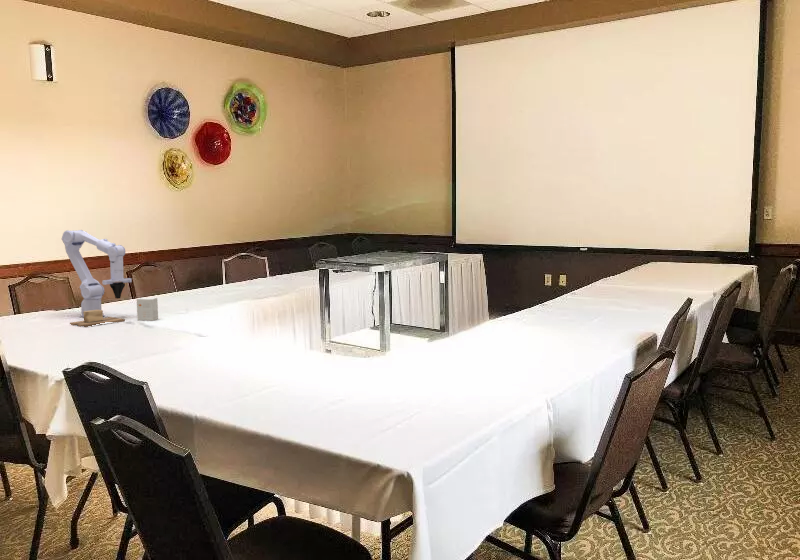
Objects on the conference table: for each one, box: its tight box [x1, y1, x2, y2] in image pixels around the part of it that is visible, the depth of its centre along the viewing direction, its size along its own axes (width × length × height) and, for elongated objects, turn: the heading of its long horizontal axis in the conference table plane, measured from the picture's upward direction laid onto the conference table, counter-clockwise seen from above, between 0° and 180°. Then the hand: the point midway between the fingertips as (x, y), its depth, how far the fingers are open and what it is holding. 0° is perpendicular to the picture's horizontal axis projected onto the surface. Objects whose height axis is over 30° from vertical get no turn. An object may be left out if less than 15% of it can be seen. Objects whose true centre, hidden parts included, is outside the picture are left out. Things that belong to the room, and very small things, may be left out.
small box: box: [136, 297, 159, 322], centre depth 315 cm, size 8×6×10 cm
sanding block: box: [83, 309, 104, 323], centre depth 303 cm, size 4×7×5 cm, turn 149°
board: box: [69, 316, 126, 328], centre depth 305 cm, size 12×20×1 cm, turn 149°
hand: (117, 298), depth 318 cm, fingers closed
